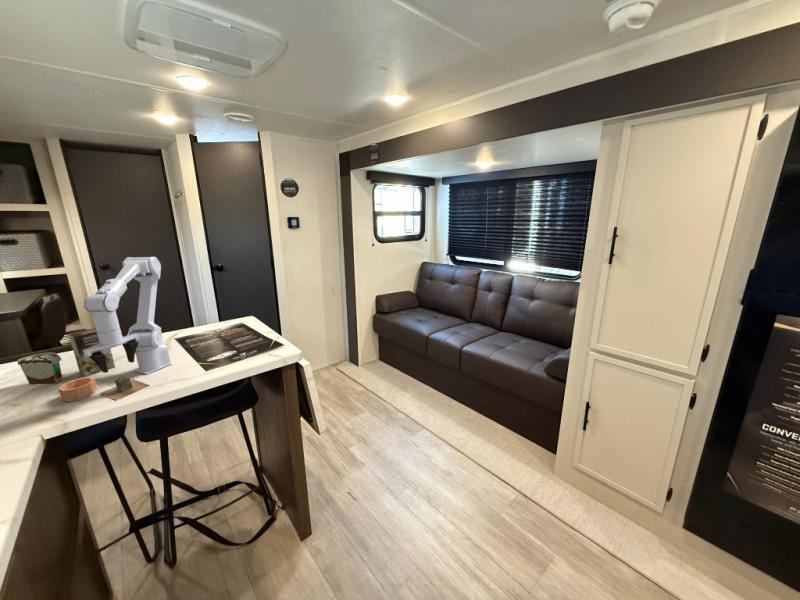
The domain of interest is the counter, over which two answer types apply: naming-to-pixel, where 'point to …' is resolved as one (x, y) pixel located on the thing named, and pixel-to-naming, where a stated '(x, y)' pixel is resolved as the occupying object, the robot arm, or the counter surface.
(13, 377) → the counter surface
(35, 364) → the food container
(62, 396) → the bowl
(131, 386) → the board
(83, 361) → the coffee box
